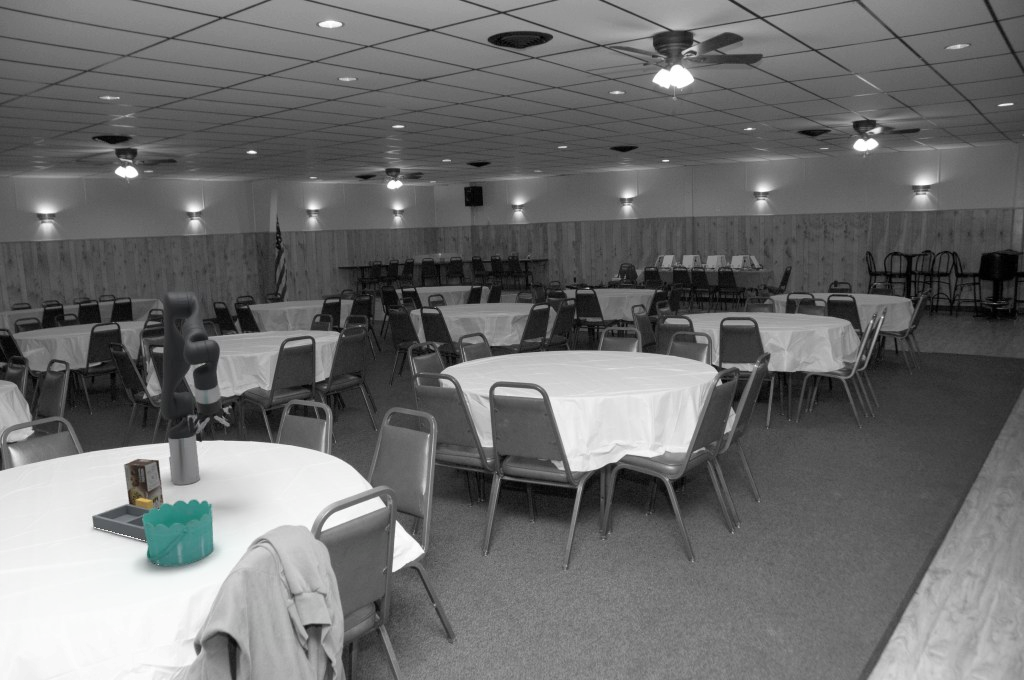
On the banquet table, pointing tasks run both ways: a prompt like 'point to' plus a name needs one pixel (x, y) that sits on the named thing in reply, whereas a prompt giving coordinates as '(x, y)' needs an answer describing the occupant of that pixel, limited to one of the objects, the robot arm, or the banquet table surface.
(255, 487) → the banquet table surface
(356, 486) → the banquet table surface
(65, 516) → the banquet table surface
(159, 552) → the basket
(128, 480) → the coffee box
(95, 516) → the grey divided tray
